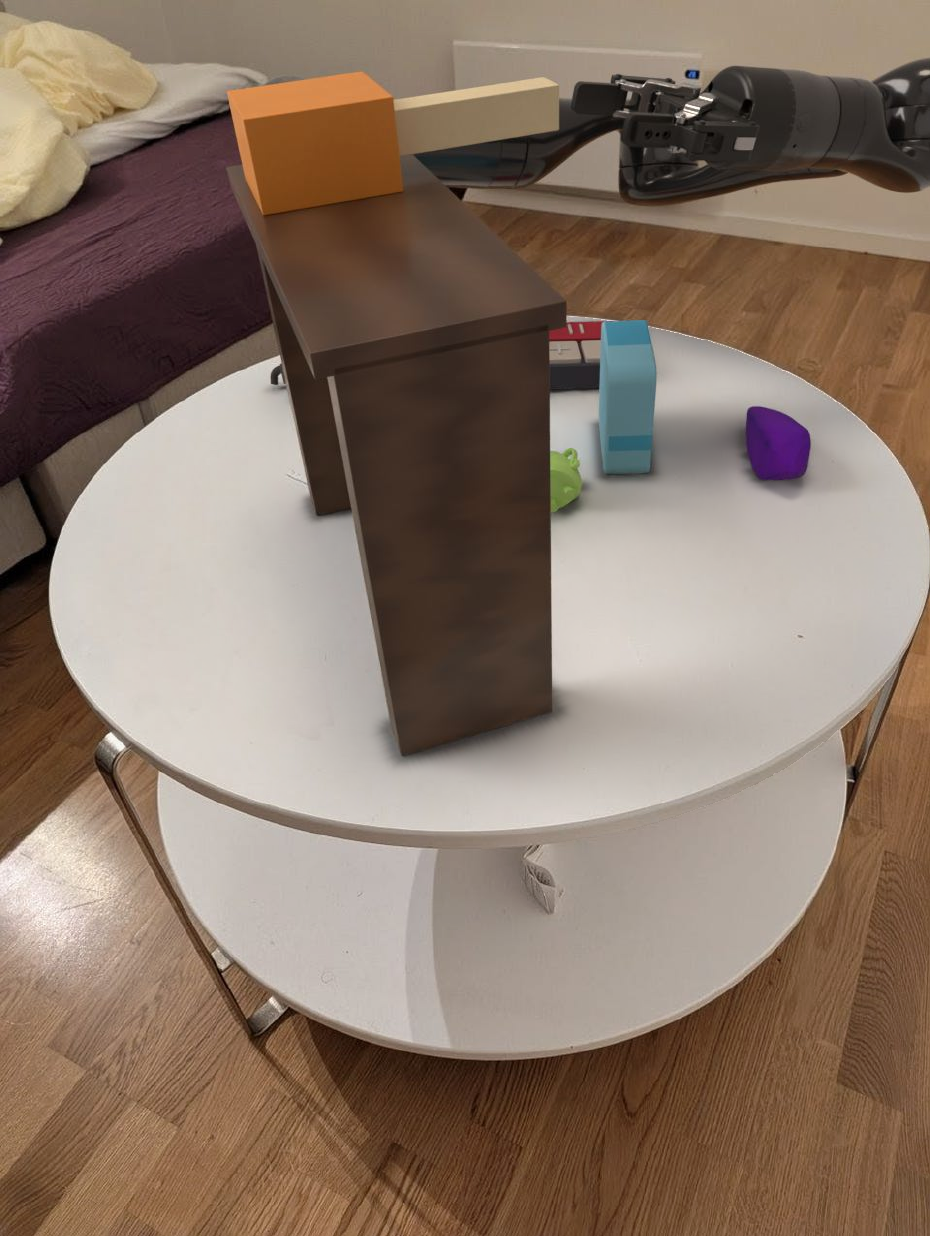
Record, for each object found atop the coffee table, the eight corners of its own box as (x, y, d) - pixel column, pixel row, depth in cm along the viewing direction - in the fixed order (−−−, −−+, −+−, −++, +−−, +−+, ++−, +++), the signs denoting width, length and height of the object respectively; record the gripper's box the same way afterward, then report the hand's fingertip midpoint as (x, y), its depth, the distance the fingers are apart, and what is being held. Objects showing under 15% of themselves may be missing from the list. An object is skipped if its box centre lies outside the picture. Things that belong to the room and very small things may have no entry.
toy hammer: (531, 133, 74) (529, 46, 70) (574, 162, 67) (575, 68, 63) (245, 180, 69) (226, 90, 65) (262, 216, 63) (242, 119, 59)
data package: (649, 479, 93) (657, 369, 85) (604, 480, 93) (608, 370, 85) (639, 419, 101) (646, 314, 94) (598, 420, 102) (601, 316, 94)
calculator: (632, 357, 105) (500, 361, 104) (628, 392, 107) (500, 395, 107) (617, 317, 113) (495, 320, 113) (614, 350, 116) (495, 353, 115)
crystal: (776, 385, 97) (825, 446, 85) (770, 428, 100) (817, 493, 88) (730, 389, 97) (773, 450, 85) (726, 432, 100) (767, 497, 88)
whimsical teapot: (581, 486, 92) (582, 436, 89) (585, 517, 88) (586, 466, 85) (519, 489, 93) (517, 439, 89) (520, 520, 89) (519, 470, 85)
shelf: (432, 472, 96) (396, 139, 75) (564, 708, 70) (567, 301, 49) (301, 502, 94) (226, 166, 72) (388, 760, 68) (309, 353, 46)
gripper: (802, 197, 75) (630, 195, 69) (708, 142, 84) (550, 137, 79) (838, 94, 70) (657, 83, 64) (734, 48, 79) (568, 35, 74)
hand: (598, 112), depth 71 cm, fingers open, 8 cm apart
